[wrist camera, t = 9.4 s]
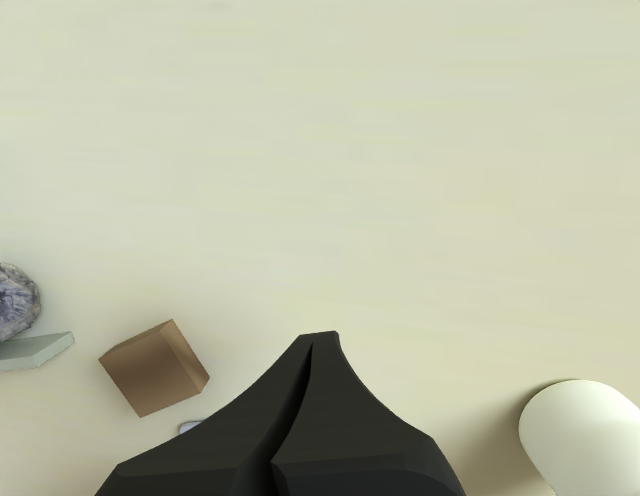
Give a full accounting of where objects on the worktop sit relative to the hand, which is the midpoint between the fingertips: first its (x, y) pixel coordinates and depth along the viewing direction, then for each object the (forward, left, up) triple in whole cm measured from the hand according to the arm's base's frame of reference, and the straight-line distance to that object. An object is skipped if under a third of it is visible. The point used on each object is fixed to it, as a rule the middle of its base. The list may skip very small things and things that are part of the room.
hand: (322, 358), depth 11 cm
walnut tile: (-5, +13, -10) cm, 17 cm away
